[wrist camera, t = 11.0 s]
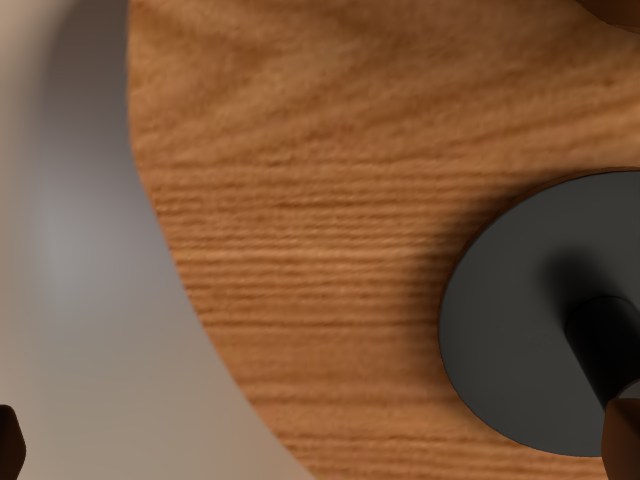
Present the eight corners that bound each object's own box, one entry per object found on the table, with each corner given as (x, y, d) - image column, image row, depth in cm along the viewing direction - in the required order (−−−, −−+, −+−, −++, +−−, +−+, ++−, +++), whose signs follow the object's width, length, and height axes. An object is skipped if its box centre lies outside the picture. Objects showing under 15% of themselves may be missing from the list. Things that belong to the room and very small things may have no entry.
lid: (395, 390, 22) (398, 500, 17) (505, 118, 18) (549, 164, 13) (664, 468, 22) (742, 600, 18) (834, 217, 18) (997, 298, 13)
